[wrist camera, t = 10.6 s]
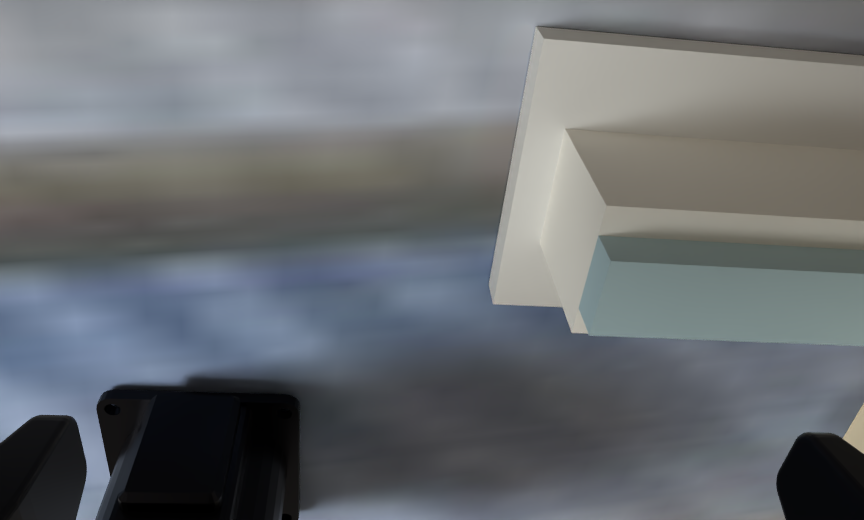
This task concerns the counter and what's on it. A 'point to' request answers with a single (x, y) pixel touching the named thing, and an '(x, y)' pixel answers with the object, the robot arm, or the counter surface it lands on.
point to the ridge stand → (687, 190)
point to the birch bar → (856, 431)
